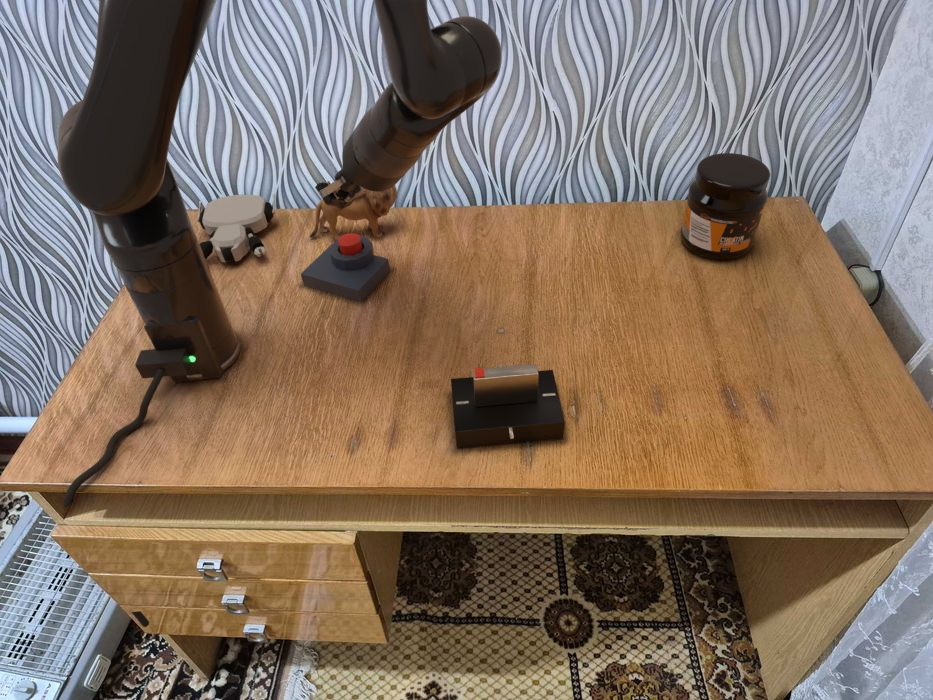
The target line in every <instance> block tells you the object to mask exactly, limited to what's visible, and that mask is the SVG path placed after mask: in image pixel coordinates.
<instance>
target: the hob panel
mask: <svg viewBox="0 0 933 700" xmlns="http://www.w3.org/2000/svg"><path fill="white" fill-rule="evenodd" d="M498 367H503V363H498ZM538 373H539V377H538V401H536V402H525V403H514V404H503V405H492V406H481V407H476V406H475V398H474V384H473V376H468V377H467V376H465V377H457V378H456V377H455V378H451V379H450V385H451V387H450V388H451V398H452V411H453V412H452V413H453V424H454V435H455V436H454V437H455V446H456V449H457V450H458V449H470V448H480V447H490V446H491V447H493V446H502V445H503V446H504V445H513V444H515V445H516V444H523V443H534V442H544V441H555V440H556V441H557V440H558V441H559V440H564V438H565V427H566V420H565V416H564V412H563V407H562V403H561V400H560V395H559V390H558V386H557V382H556V377H555V374H554V369H545V370H544V369H543V370H538Z"/></svg>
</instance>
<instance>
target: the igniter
mask: <svg viewBox="0 0 933 700" xmlns="http://www.w3.org/2000/svg"><path fill="white" fill-rule="evenodd" d="M359 236H360V238H361V244H362V251H361V252H360V253H357V254H355V255H348V256H346V255H343V254H342V253H341V252H340V247H339V243H338V240H339V239H338V240H337V241H336V240H335V241H334V242H333V243H331V244H330V245H328V247H327V248H326V249H325V250H324V251H323V252H322V253H320V255H318V256H317V257H316V258H315V260H313V261H312V262H311V263H310V264H309V265H308V266H307V267H306V268H305V269H304V270H303V271H302V272H301V273H300V277H301V280H302V285H303V286H305V287H308V288H312V289H315V290H319V291H322V292H326V293H328V294H332V295H334V296H335V295H336V296H339V297H342V298H346V299H349V300H352V301H356V302H358V303H362V302H363V301H364V300H365V299H366V298H367V297H368V296H369V294H370V293H372V291H373V290H374V289H375V288H376V287H377V286H378V284H380V282H381V281H382V280H383V279H384V278H385V277H386V276H387V275H388V274H389V273H390V271H391V267H390V260H389V258H387V257H384V256H379V255H375V251H374V245H373V242H372V241H371V240H370V239H369V238H368V237H366V236H362V235H359Z"/></svg>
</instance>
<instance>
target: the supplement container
mask: <svg viewBox="0 0 933 700" xmlns="http://www.w3.org/2000/svg"><path fill="white" fill-rule="evenodd" d="M694 175H695V176H694V179H693V180H692V181H691V182H690V184H689V187H688V192H687V193H688V196H687V200H686V205H685V209H684V215H683V221H682V224H681V227H680V238H681V239H680V240H681V241H682V243H683V244H684V246H685V247H686V248H687V249H688V250H690V251H691V252H693V253H694V254H696V255H698V256H701V257H704V258H708V259H711V260H731V259H732V260H733V259H736V258H739V257H741V256H744V255H745V254H747V253H748V252H750V250H751V249H752V247H753V246H754V243H755V240H756V236H757V232H758V229H759V226H760V222H761V220H762V216H763V212H764V208H765V206H766V204H767V202H768V200H769V199H768V198H769V195H768V194H769V193H768V190H767V188H768V185H769V183H770V179H771V171H770V169H769V167H768V166H767V165H766V164H765V163H764V162H763V161H761V160H759V159H757V158H755V157H752V156H750V155H746V154H743V153H734V152H723V153H722V152H721V153H715V154H711V155H708V156H706V157H704V158H703V159H701V160H700V161H699V162H698V164H697V167H696V171H695V174H694Z"/></svg>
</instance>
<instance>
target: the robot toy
mask: <svg viewBox="0 0 933 700" xmlns="http://www.w3.org/2000/svg"><path fill="white" fill-rule="evenodd" d="M272 199H273V200H272V204H271V202H270V201H269V202H268V201H267V199H266V198H265V197H263V196H260V195H256V194H233V195H227V196H223V197H218V198H215V199H213V200H211V201H210V202H208V203H206V204H205V207H204V208H202V204H203V203H202V201H201V200H199V201H198V215H197V218H196V221H197V223H199V224H200V227H201V229H202V230H205V232H206V233H207V234H208V235H209V236H210V237H209V239H208V240H206V241H205V240H204V241H201V242H199V245H200V247H201V250H202V252H203V255H204V257H205V260H207V259H208V258H209V257H210V256H211V255H212V254H213V252H214V251H215V254H216V256H217V257H218V258H219V260H220V262H221V263H224V264H226V263H231V262H233V261H235V263H236V262H239V261H241V260H242V259H243V257H246V256H247V254H248V253H249V251H250V250H251V251H252V252H253V254H254V255H255V256H256V257H262V255H263V256H265V255H266V254H267V248H266V247H265V245H264V243H263V242H262V240H261V239H260V238H259V236H258V235H257V236H256V235H255V234H257V233H260V232H261V231H263V230H264V229H266V228H268V225H269V224H270V223H271V222H272V220H273V218H274V216H275V215H276V211H277V210H276V194H275V192H273V194H272ZM272 205H273V206H272Z"/></svg>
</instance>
